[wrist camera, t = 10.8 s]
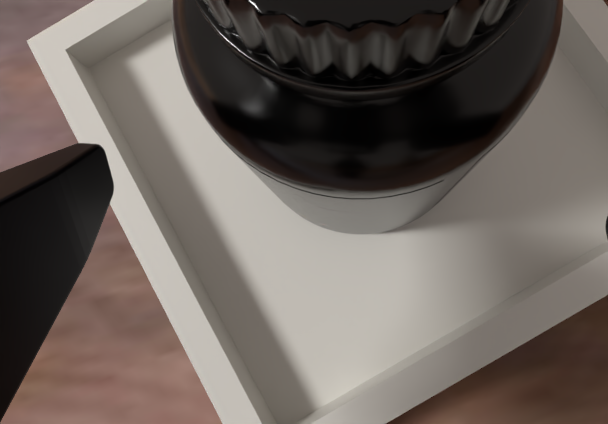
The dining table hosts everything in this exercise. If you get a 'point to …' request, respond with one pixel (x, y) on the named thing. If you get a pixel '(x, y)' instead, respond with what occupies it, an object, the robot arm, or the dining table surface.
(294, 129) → the supplement bottle
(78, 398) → the dining table surface
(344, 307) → the tray
